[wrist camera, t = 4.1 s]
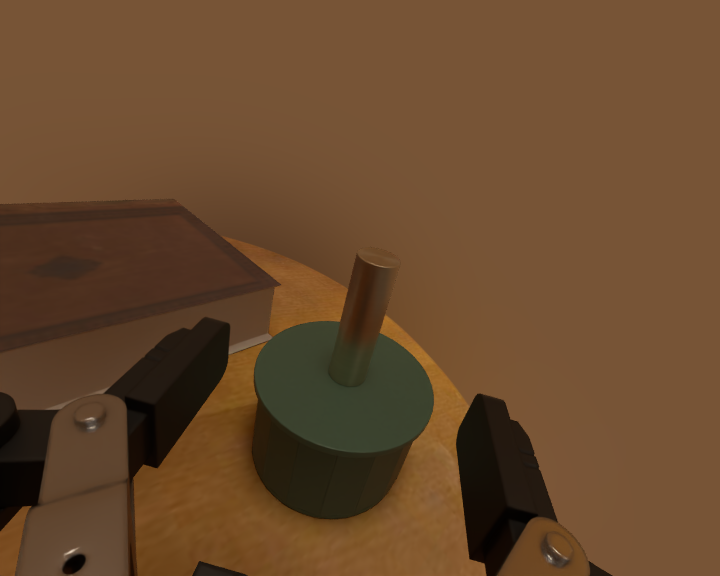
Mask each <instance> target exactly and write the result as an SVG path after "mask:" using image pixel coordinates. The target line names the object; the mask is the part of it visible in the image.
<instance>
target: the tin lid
mask: <svg viewBox="0 0 720 576" xmlns="http://www.w3.org/2000/svg"><path fill="white" fill-rule="evenodd" d="M400 264H401V262H400V259H399V258H398V257H397V256H396V255H394V254H392V253H390V252H388V251H386V250H382V249H379V248H372V247H366V248H361V249H359V250H358V252H357V255H356V259H355V263H354V267H353V271H352V275H351V280H350V284H349V288H348V292H347V296H346V300H345V304H344V309H343V313H342V317H341V321H340V322H335V321H318V322H309V323H304V324H300V325H296V326H293V327H290V328H288V329H286V330H284V331H282V332H280V333H278V334H277V335H275V336H274V337H273V338H272V339H270V340H269V341H268V342H267V343H266V345H265V346H264V347H263V349H262V350H261V351H260V353H259V355H258V358H257V360H256V364H255V368H254V387H255V392H256V395H257V398H258V401H259V402H260V404H261V406H262V408H263V410H264V411H265V413H266V414H267V415H268V417H269V418H270V419H271V420H272V421H273V422H274V423H275V424H276V425H277V426H278V427H279V428H280V429H281V430H282V431H283V432H285V433H286V434H287V435H289V436H290V437H291V438H293V439H295V440H297V441H298V442H300V443H302V444H304V445H306V446H308V447H311V448H313V449H315V450H318V451H321V452H324V453H328V454H331V455H337V456H342V457H353V458H367V457H376V456H382V455H387V454H389V453H392V452H395V451H398V450H400V449H402V448H404V447H406V446H407V445H409V444H410V443H412V442H413V441H414V440H415V439H417V438H418V436H419V435H420V434H421V433H422V432H423V431H424V429H425V427H426V426H427V424H428V422H429V420H430V417H431V414H432V411H433V405H434V395H433V390H432V385H431V383H430V380H429V378H428V376H427V374H426V372H425V370H424V369H423V367H422V366H421V364H420V363H419V362H418V361H417V360H416V358H415V357H414V356H413V355H412V354H411V353H410V352H408V351H407V350H406V349H405V348H404V347H402V346H401V345H400V344H398V343H397V342H395V341H394V340H392V339H390V338H388V337H387V336H385V335H383V334H381V333H379V332H380V329H381V326H382V323H383V319H384V316H385V313H386V310H387V306H388V303H389V300H390V297H391V293H392V290H393V287H394V284H395V281H396V277H397V274H398V271H399V268H400Z"/></svg>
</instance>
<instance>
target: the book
mask: <svg viewBox="0 0 720 576" xmlns="http://www.w3.org/2000/svg"><path fill="white" fill-rule="evenodd" d="M280 285H281V284H280V283H278V282H277V281H276V280H275V279H273V278H272V277H271V276H270V275H268V274H267V273H266V272H265V271H263V270H262V269H261V268H260V267H258V266H257V265H256V264H255V263H253V262H252V261H251V260H250V259H248V258H247V257H246V256H245V255H243V254H242V253H241V252H240V251H238V250H237V249H236V248H235V247H233V246H232V245H231V244H230V243H228V242H227V241H226V240H225V239H223V238H222V237H221V236H220V235H218V234H217V233H216V232H215V231H213V230H212V229H211V228H210V227H208V226H207V225H206V224H204V223H203V222H202V221H201V220H200V219H198V218H197V217H196V216H195V215H193V214H192V213H191V212H190V211H188V210H187V209H186V208H185V207H183V206H182V205H181V204H180V203H178V202H177V201H176V200H174V199H153V200H123V201H90V202H59V203H30V204H29V203H27V204H0V392H3V393H6V394H8V395H10V396H11V397H12V398H13V399H14V401H15V404H16V407H17V410H58V409H62V408H63V407H64V406H65V405H67V404H68V403H70V402H72V401H74V400H76V399H78V398H81V397H84V396H88V395H93V394H103V393H104V392H105V391H106V390H108V389H109V388H110V387H111V386H112V385H113V384H114V383H115V382H116V381H117V380H118V379H120V378H121V377H122V376H123V375H124V374H125V373H126V372H127V371H128V370H129V369H130V368H131V367H133V366H134V365H135V364H136V363H137V362H138V361H139V360H140V359H141V358H142V357H143V358H144V357H145V355H146V354H147V353H148V352H149V351H150V350H151V349H152V348H154V347H155V345H157V344H158V343H159V342H160V341H161V340H162V339H163V338H164V337H165V336H166V335H168V334H170V333H172V332H175V331H177V330H179V329H181V328H187V329H190V330H191V329H192V328H193V327H194V326H195V325H196V324H197V323H198V322H199V321H200V320H201V319H202V318H204V317H209V318H213V319H216V320H220V321H223V322H227V323H229V324H230V340H229V353H228V355H229V354H232V353H235V352H238V351H240V350H243V349H246V348H249V347H251V346H254V345H257V344H260V343H263V342H265V341H268V340H270V339H272V338H273V337H272V336H271V335H270V334H269V333H268V330H269V323H270V315H271V307H272V300H273V295H274V287H277V286H280Z"/></svg>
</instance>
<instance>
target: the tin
mask: <svg viewBox="0 0 720 576" xmlns="http://www.w3.org/2000/svg"><path fill="white" fill-rule="evenodd" d="M411 445H412V443H410V444H409V445H407V446H406V447H404V448H402V449H400V450H398V451H395V452H392V453H389V454H387V455H382V456H376V457H367V458H353V457H342V456H337V455H331V454H328V453H324V452H321V451H318V450H315V449H313V448H311V447H308V446H306V445H304V444H302V443H300V442H298V441H297V440H295V439H293V438H291V437H290V436H289V435H287V434H286V433H285V432H283V431H282V430H281V429H280V428H279V427H278V426H277V425H276V424H275V423H274V422H273V421H272V420H271V419H270V418H269V417H268V415H267V414H266V413H265V411H264V410H263V408H262V406H261V404H260V402H259V401H258V404H257V412H256V420H255V428H254V437H253V447H252V454H253V458H254V463H255V466H256V470H257V472H258V474H259V476H260V478H261V480H262V481H263V483H264V485H265V486H266V488H267V489H268V490H269V491H270V492H271V493H272V494H273V495H274V496H275V497H276V498H277V499H278V500H279V501H281V502H282V503H283V504H285V505H287V506H288V507H290V508H291V509H293V510H296V511H298V512H300V513H302V514H305V515H309V516H312V517H317V518H324V519H338V518H347V517H350V516H354V515H357V514H360V513H362V512H365V511H367V510H368V509H370V508H372V507H373V506H375V505H376V504H377V503H378V502H379V501H381V500H382V499H383V497H384V496H385V495H386V494H387V493H388V491H389V490H390V488H391V486H392V485H393V483H394V482H395V480H396V479H397V477H398V474H399V472H400V470H401V467H402V465H403V463H404V461H405V458H406V456H407V454H408V451H409V449H410V447H411Z"/></svg>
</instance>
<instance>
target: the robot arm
mask: <svg viewBox="0 0 720 576" xmlns="http://www.w3.org/2000/svg"><path fill="white" fill-rule="evenodd" d="M229 340H230V324H229V323H227V322H223V321H220V320H216V319H213V318H209V317H204V318H202V319H201V320H200V321H199V322H198V323H197V324H196V325H195V326H194V327H193V328H192V329H191V330H190V329H187V328H181V329H179V330H177V331H175V332H172V333H170V334H168V335H166V336H165V337H164V338H163V339H162V340H161V341H160V342H159V343H158V344H157V345H155V347H154V348H152V349H151V350H150V351H149V352H148V353H147V354H146V355H145V357H144V358H143V357H142V358H141V359H140V360H139V361H138V362H137V363H136V364H135V365H134V366H133V367H131V368H130V369H129V370H128V371H127V372H126V373H125V374H124V375H123V376H122V377H121V378H120V379H118V380H117V381H116V382H115V383H114V384H113V385H112V386H111V387H110V388H109V389H108V390H106V391H105V392H104V393H103V394H93V395H88V396H84V397H81V398H78V399H76V400H74V401H72V402H70V403H68V404H67V405H65V406H64V407H63V408H62V409H58V410H17V407H16V404H15V401H14V399H13V398H12V397H11V396H10V395H8V394H6V393H3V392H0V531H1V530H2V529H3V528H4V527H5V525H6V524H7V523H8V522H9V521H10V520H11V519H12V518H13V517H14V516H15V514H16V513H17V512H18V511H19V510H20V509H21V508H22V507H23V506H32V507H31V508H30V509H29V511H28V513H27V516H26V520H25V524H24V530H23V535H22V540H21V546H20V551H19V556H18V562H17V567H16V572H15V576H138V575H137V560H136V537H135V509H134V480H133V477H134V476H135V475H136V473H137V472H138V471H139V469H140V468H141V467H142V465H143V464H144V465H147V466H151V467H154V468H158V467H159V466H160V464H161V463H162V461H163V460H164V459H165V457H166V456H167V454H168V453H169V452H170V450H171V449H172V447H173V446H174V445H175V443H176V442H177V440H178V439H179V438H180V436H181V435H182V433H183V432H184V431H185V429H186V428H187V426H188V425H189V424H190V422H191V421H192V419H193V418H194V417H195V415H196V414H197V412H198V411H199V410H200V408H201V407H202V405H203V404H204V403H205V401H206V400H207V398H208V397H209V396H210V394H211V393H212V391H213V390H214V389H215V387H216V386H217V384H218V383H219V382H220V380H221V378H222V377H223V375H224V372H225V370H226V367H227V363H228V353H229ZM456 448H457V456H458V465H459V474H460V482H461V491H462V499H463V508H464V516H465V525H466V533H467V542H468V551H469V559H471V560H474V561H478V562H481V563H485V568H486V575H487V576H612V575H610V574H609V573H607V572H606V571H604V570H602V569H600V568H599V567H597V566H595V565H594V564H593V563H591V562H590V561H588V559H587V556H586V554H585V552H584V550H583V548H582V547H581V545H580V543H579V542H578V541H577V540H576V538H575V537H574V536H573V535H572V534H571V533H570V532H569V531H568V530H567V529H566V528H564V527H563V526H562V525H560V524H559V523H558V521H557V518H556V515H555V513H554V509H553V506H552V503H551V500H550V498H549V495H548V492H547V489H546V486H545V483H544V480H543V477H542V474H541V471H540V470H539V465H538V463H537V459H536V457H535V456H534V450H533V448H532V444H531V442H530V439H529V437H528V435H527V434H526V432H525V431H524V430H523V428H522V427H521V426H520V424H519V423H518V422H517V421H514V420H510V417H509V413H508V410H507V407H506V404H505V402H504V401H503V400H501V399H497V398H494V397H490V396H487V395H483V394H477V395H476V396H475V398H474V400H473V402H472V404H471V406H470V408H469V410H468V412H467V413H466V415H465V417H464V419H463V421H462V423H461V425H460V427H459V430H458V434H457V440H456ZM192 576H247V575H246V574H242V573H239V572H235V571H232V570H228V569H225V568H221V567H218V566H215V565H211V564H208V563H204V562H201V561H199V563H198V565H197V567H196V569H195V571H194V573H193V575H192Z"/></svg>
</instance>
